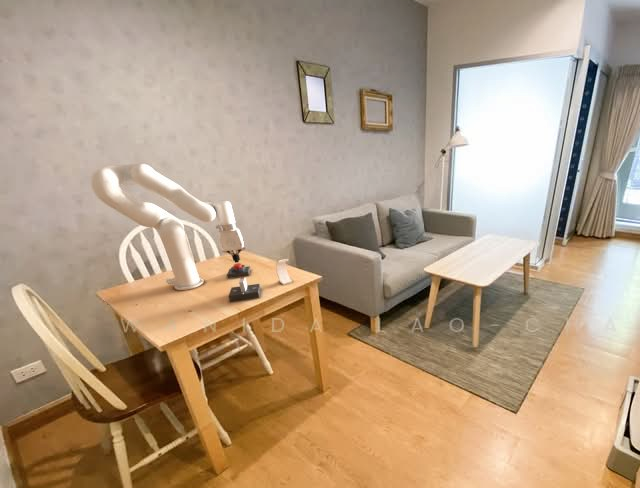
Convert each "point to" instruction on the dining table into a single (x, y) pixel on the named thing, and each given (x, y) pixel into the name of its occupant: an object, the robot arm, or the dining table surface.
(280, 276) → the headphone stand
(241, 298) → the device
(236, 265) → the button
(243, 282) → the grey rectangular block
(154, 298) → the dining table surface
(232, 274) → the button block
